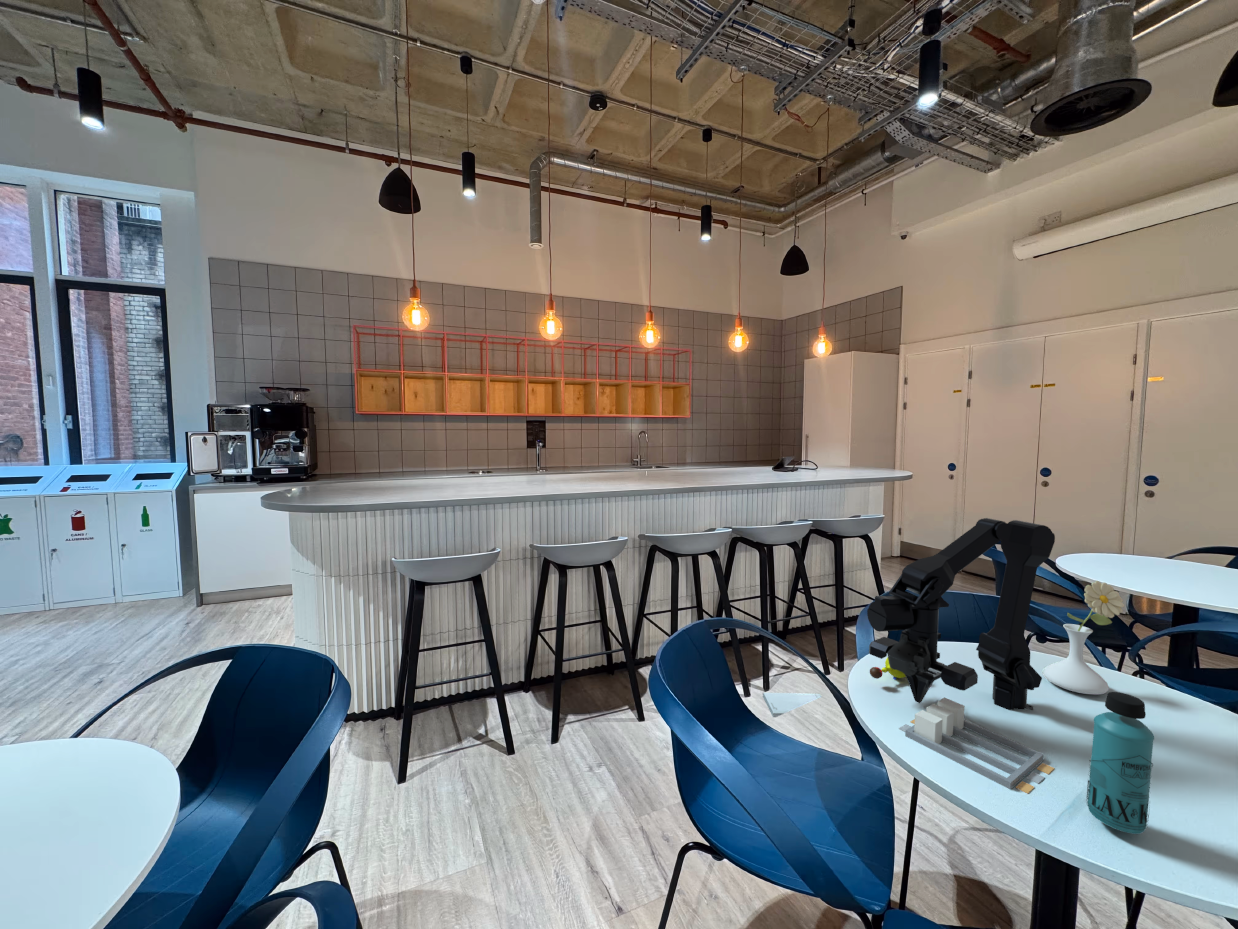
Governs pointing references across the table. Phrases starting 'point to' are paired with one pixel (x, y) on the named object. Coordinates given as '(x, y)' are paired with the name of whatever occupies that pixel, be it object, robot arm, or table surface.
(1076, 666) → the flower in vase
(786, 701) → the pale blue flat piece
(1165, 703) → the table surface
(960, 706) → the tab
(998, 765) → the switch bank
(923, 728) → the tab
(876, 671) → the toy figure
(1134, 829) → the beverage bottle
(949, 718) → the tab
